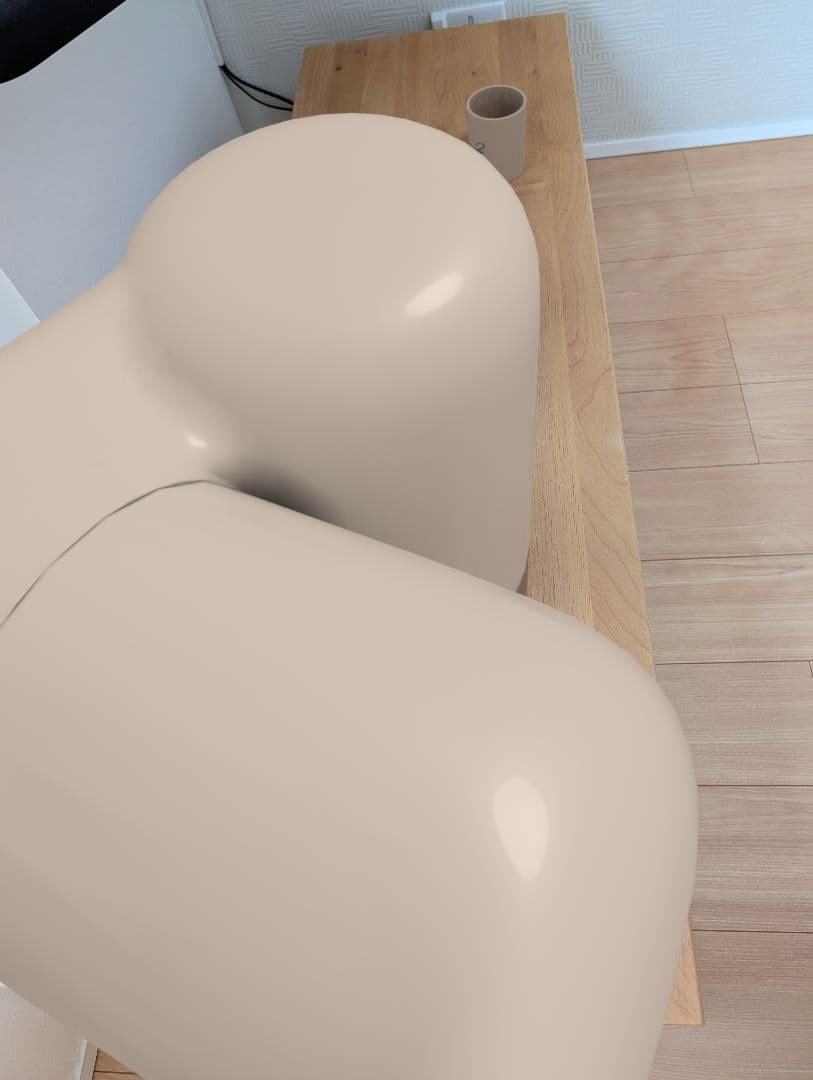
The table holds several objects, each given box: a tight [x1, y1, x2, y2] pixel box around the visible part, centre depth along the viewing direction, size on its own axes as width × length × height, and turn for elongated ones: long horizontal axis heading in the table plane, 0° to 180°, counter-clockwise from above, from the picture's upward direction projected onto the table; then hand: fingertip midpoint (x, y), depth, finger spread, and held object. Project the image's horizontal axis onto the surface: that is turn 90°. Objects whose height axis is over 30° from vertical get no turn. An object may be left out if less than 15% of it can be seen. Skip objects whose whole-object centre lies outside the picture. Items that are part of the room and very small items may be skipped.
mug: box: [465, 84, 528, 183], centre depth 117 cm, size 12×9×10 cm
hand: (441, 740), depth 38 cm, fingers open, 9 cm apart
